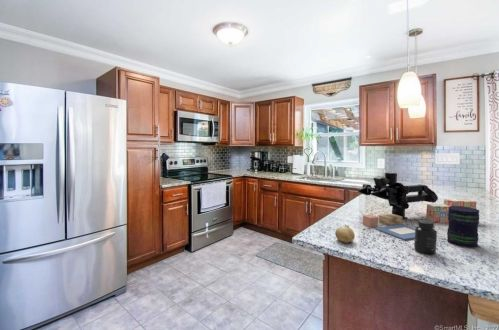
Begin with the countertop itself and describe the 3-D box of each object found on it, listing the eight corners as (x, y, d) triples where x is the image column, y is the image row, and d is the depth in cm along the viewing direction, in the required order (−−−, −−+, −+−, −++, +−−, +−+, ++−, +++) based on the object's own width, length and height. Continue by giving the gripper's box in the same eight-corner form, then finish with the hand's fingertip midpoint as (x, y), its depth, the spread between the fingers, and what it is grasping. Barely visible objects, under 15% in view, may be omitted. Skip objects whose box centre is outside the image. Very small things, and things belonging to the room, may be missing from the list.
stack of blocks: (433, 222, 128) (434, 200, 127) (425, 219, 134) (426, 198, 133) (475, 223, 126) (476, 201, 125) (466, 220, 132) (467, 198, 131)
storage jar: (471, 250, 92) (473, 212, 92) (442, 241, 101) (443, 207, 100) (482, 245, 97) (484, 209, 96) (453, 237, 106) (454, 205, 105)
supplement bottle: (409, 248, 94) (410, 219, 94) (425, 247, 95) (426, 218, 94) (424, 256, 87) (425, 224, 87) (440, 255, 88) (442, 224, 87)
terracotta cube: (370, 223, 128) (370, 214, 127) (377, 226, 123) (377, 216, 122) (362, 224, 126) (363, 215, 126) (370, 227, 121) (370, 217, 121)
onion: (356, 245, 98) (357, 228, 98) (337, 244, 99) (337, 227, 99) (351, 238, 106) (352, 223, 106) (333, 237, 107) (333, 222, 107)
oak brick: (392, 220, 133) (392, 213, 133) (402, 223, 127) (402, 216, 127) (378, 222, 130) (378, 215, 130) (387, 225, 124) (388, 218, 124)
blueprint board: (401, 225, 123) (401, 223, 123) (433, 235, 108) (433, 234, 108) (374, 229, 118) (374, 227, 118) (404, 240, 103) (404, 238, 102)
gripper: (373, 175, 143) (352, 176, 138) (401, 178, 125) (378, 179, 120) (373, 193, 143) (352, 195, 139) (401, 199, 126) (378, 201, 121)
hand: (364, 192), depth 130 cm, fingers open, 9 cm apart
